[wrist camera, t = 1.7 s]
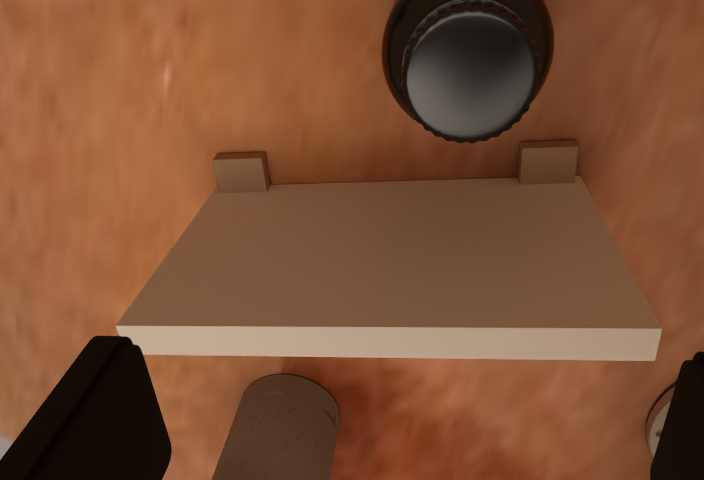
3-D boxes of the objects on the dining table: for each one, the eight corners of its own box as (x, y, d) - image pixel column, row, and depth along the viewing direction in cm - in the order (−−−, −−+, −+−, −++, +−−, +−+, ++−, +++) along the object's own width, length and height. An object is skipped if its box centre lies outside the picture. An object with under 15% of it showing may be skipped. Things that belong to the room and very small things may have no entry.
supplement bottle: (478, -90, 28) (507, -81, 18) (552, 28, 30) (616, 97, 20) (366, 5, 31) (334, 61, 20) (441, 107, 33) (447, 203, 23)
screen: (584, 139, 33) (673, 280, 21) (572, 232, 36) (645, 401, 24) (210, 153, 36) (100, 283, 24) (228, 238, 39) (139, 390, 27)
